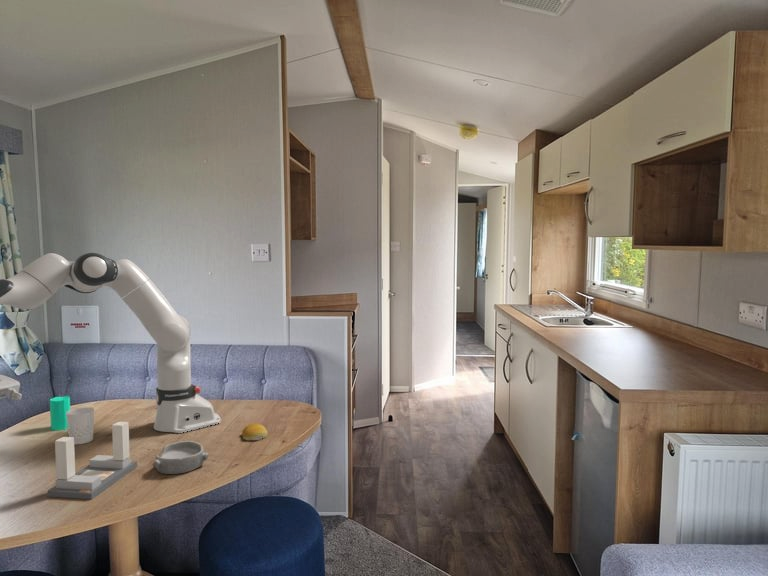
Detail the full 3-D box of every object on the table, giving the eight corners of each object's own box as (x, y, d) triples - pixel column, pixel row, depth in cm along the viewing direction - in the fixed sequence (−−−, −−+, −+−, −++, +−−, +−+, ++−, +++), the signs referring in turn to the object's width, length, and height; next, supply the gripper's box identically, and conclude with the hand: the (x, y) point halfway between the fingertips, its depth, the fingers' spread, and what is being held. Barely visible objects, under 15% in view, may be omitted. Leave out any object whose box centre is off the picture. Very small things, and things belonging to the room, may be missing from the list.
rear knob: (113, 459, 147) (112, 425, 147) (119, 455, 150) (118, 421, 150) (123, 460, 147) (122, 425, 146) (129, 456, 150) (128, 422, 149)
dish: (154, 479, 144) (154, 462, 144) (154, 460, 157) (154, 444, 157) (209, 471, 150) (209, 454, 150) (205, 453, 163) (205, 437, 162)
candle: (74, 424, 186) (73, 391, 185) (63, 430, 180) (61, 396, 179) (59, 424, 187) (57, 391, 186) (46, 430, 181) (45, 396, 180)
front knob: (56, 478, 135) (54, 441, 135) (64, 473, 138) (63, 436, 137) (67, 479, 135) (65, 441, 134) (75, 474, 138) (73, 437, 137)
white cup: (64, 440, 171) (62, 411, 170) (90, 434, 177) (89, 405, 176) (71, 447, 166) (70, 416, 165) (98, 440, 172) (97, 411, 171)
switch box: (47, 496, 134) (47, 483, 133) (98, 464, 154) (98, 452, 153) (91, 499, 132) (91, 485, 132) (137, 466, 152) (136, 454, 152)
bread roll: (243, 443, 171) (243, 431, 171) (241, 433, 180) (241, 422, 179) (269, 440, 174) (269, 428, 174) (265, 431, 183) (265, 419, 182)
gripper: (-76, 381, 131) (-30, 398, 129) (-3, 368, 151) (37, 383, 149) (-82, 405, 131) (-36, 422, 129) (-8, 389, 151) (32, 404, 149)
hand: (4, 401), depth 139 cm, fingers open, 8 cm apart
